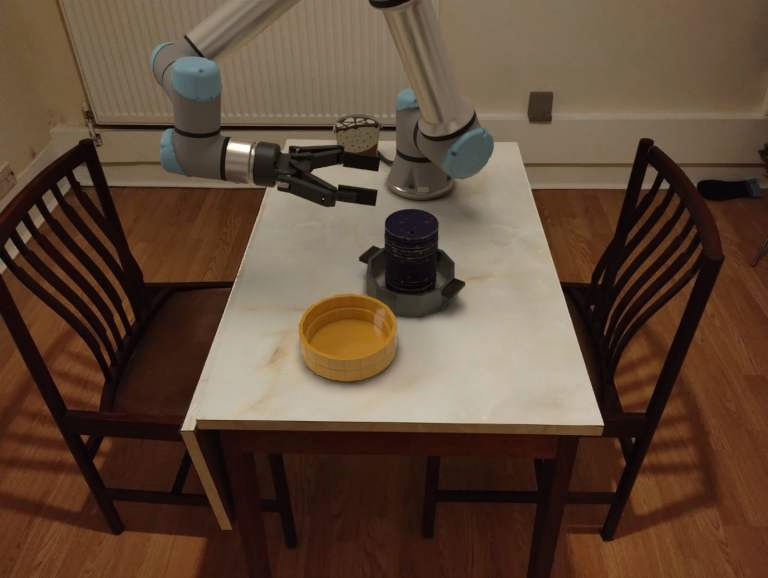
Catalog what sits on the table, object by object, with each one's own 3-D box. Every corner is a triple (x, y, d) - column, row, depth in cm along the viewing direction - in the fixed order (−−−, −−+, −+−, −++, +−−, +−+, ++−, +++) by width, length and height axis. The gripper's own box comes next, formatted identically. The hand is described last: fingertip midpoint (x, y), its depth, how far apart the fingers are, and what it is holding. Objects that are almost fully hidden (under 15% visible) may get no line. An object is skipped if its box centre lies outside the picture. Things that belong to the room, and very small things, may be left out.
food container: (376, 146, 173) (375, 110, 167) (382, 157, 169) (382, 120, 162) (330, 152, 171) (327, 116, 164) (335, 164, 166) (332, 126, 160)
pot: (341, 291, 127) (340, 271, 124) (389, 249, 138) (389, 229, 135) (434, 333, 118) (435, 312, 115) (478, 285, 128) (480, 264, 125)
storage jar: (384, 272, 132) (384, 208, 122) (434, 272, 132) (437, 208, 122) (384, 305, 124) (384, 239, 115) (437, 305, 124) (441, 239, 114)
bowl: (288, 333, 118) (285, 310, 115) (372, 307, 124) (371, 284, 120) (321, 396, 107) (319, 372, 103) (412, 364, 112) (413, 340, 109)
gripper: (266, 154, 126) (377, 170, 127) (239, 217, 106) (372, 234, 107) (268, 116, 122) (383, 132, 123) (240, 173, 101) (378, 193, 103)
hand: (378, 180), depth 115 cm, fingers open, 13 cm apart
